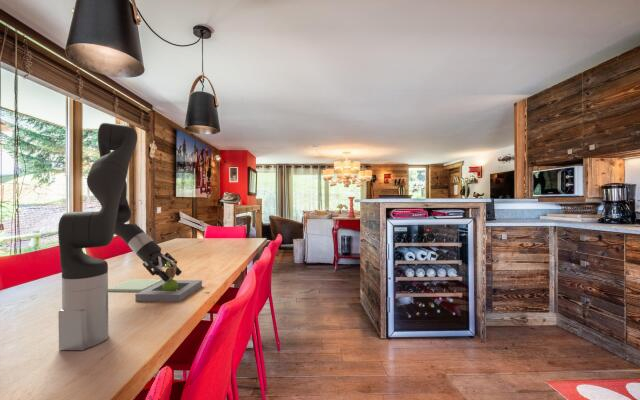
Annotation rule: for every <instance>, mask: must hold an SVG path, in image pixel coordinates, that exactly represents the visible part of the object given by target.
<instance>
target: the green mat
mask: <svg viewBox="0 0 640 400" xmlns="http://www.w3.org/2000/svg"><path fill="white" fill-rule="evenodd" d="M161 281H163V280H162V279H158V278H155V279H154V278H153V279H151V278H150V279H149V278H148V279H147V278H146V279H145V278H131V279H129V280H126V281H124V282H121V283H119V284H117V285H115V286H111V287H108V293H109V292H111V293H113V292H117V293H120V292H121V293H122V292H123V293H139V292H141V291H143V290H145V289H147V288H149V287H151V286H153V285H155V284H157V283H159V282H161Z"/></svg>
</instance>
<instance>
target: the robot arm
mask: <svg viewBox="0 0 640 400" xmlns="http://www.w3.org/2000/svg"><path fill="white" fill-rule="evenodd" d="M97 143H98V144H97V145H98V152H99V158H97V159H96V160H95V161H94V162H93V163H92V165H91V167H90V170H89V172H88V175H87V178H86V185H87V187H88V189H89V191H90V192H91V193H92V195H93V196H94V197H95V198H96V200H97V201H98V203H99V204H100V206H101V209H100V210H98V211H69V212H66V213H63V214H62V215H61V216H60V218H59V222H58V228H57V234H58V235H57V236H58V237H57V238H58V247H59V264H60V269H61V309H60V310H59V311H58V312H57V313H58V350H59V351H84V350H86V349H88V348H91V347H96V346H98V345H99V344H102V343H103V342H104V341H107V339H108V338H109V292H108V289H109V265H108V261H106V260H104V259H101V258H96V257H94V256H91V255H88V254H87V253H85V252H84V251H83V249H90V248H92V249H93V248H102V247H107V246H109V245H110V244H111V242H112V241H113V239H114V235H116V236H118V237H120V238H121V239H122V240H123V242H125V244H126V245H128V246H129V248H130V249H131V250H132V252H133V253H135V255H136V256H137V257H138V258H139V259H140V260H141V261H142V262H143V263H142V265H143V267H144V268H145V269H146V270H147V271H148V273H150V275H151V276H155V275H156V276H159V278H161V279H162V280H164V281H165V282H166V281H168V280H169V279H170V277H169V276H168V275H167V274H166V273H165V271H164V270H163V268H166V269H167V268H168V267H173V264H177V265H178V261H177V262H176V259H175V258H174V257H173V256H172V255H171V254H170V253H169V252H165V253H164V254H163V253H162V247H161V246H160V245H159V244H158V243H157V242H156V241H155V240H154V239H153V238H152V237H151V236H150V235H149V234H147V233H146V231H144V230H143V229H142V228H141V227H140V226H139V225H138V224H136V223H134V222H133V223H127V222H129V221H130V220H131V219H132V218H131V217H132V210H131V208H130V204H129V202H128V201H129V200H128V199H127V197H128V190H127V189H128V184H127V177H128V171H129V166H130V163H131V159H132V156H133V155H134V152H135V150H136V147H137V143H138V132H137V130H136V129H135V128H134V127H132V126H129V125H127V124H126V125H125V124H120V123H119V124H118V123H112V122H101V123H100V125H99V126H98V130H97ZM111 151H112V152H111ZM174 261H175V262H174ZM182 273H183V272H182V270H181V269H180V268H179V267H178V266H176V274H175V276H180V275H181V274H182Z"/></svg>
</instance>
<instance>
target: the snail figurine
mask: <svg viewBox="0 0 640 400" xmlns="http://www.w3.org/2000/svg"><path fill="white" fill-rule="evenodd" d="M175 260H176V259H175ZM174 262H175V261H174ZM176 262H177V264H173V267H166V269H165V271H164V272H165V273H166V274H167V275H168V276H169V277H170V279H169V280H168V281H166V282H164V284H163V286H162V289H163V291H178V290H179V289H178V283H177V281H176V280H177V279H174V278H175V276H176V266H177V265H178V260H176ZM177 267H178V266H177Z"/></svg>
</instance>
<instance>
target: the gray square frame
mask: <svg viewBox="0 0 640 400" xmlns="http://www.w3.org/2000/svg"><path fill="white" fill-rule="evenodd" d="M175 280H176V281H177V283H178V289H177V291H163V289H162V286H163V284H164V282H165V281H164V280H163V281H161V282H159V283H157V284H155V285H153V286H151V287H149V288H147V289H145V290H143V291H141V292H136V293H135V295H134V296H135V297H134V299H135V302H158V303H159V302H168V303H169V302H172V303H173V302H174V303H176V302H177V303H178V302H179V303H180V302H182V301H183V300H184V299H185V298H187V297H188V296H190V295H191V294H193V293H195V292H196V291H197V290H199V289H200V288H202V287H203V280H202V279H200V280H199V279H197V280H196V279H193V280H192V279H190V280H189V279H188V280H187V279H175Z"/></svg>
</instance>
